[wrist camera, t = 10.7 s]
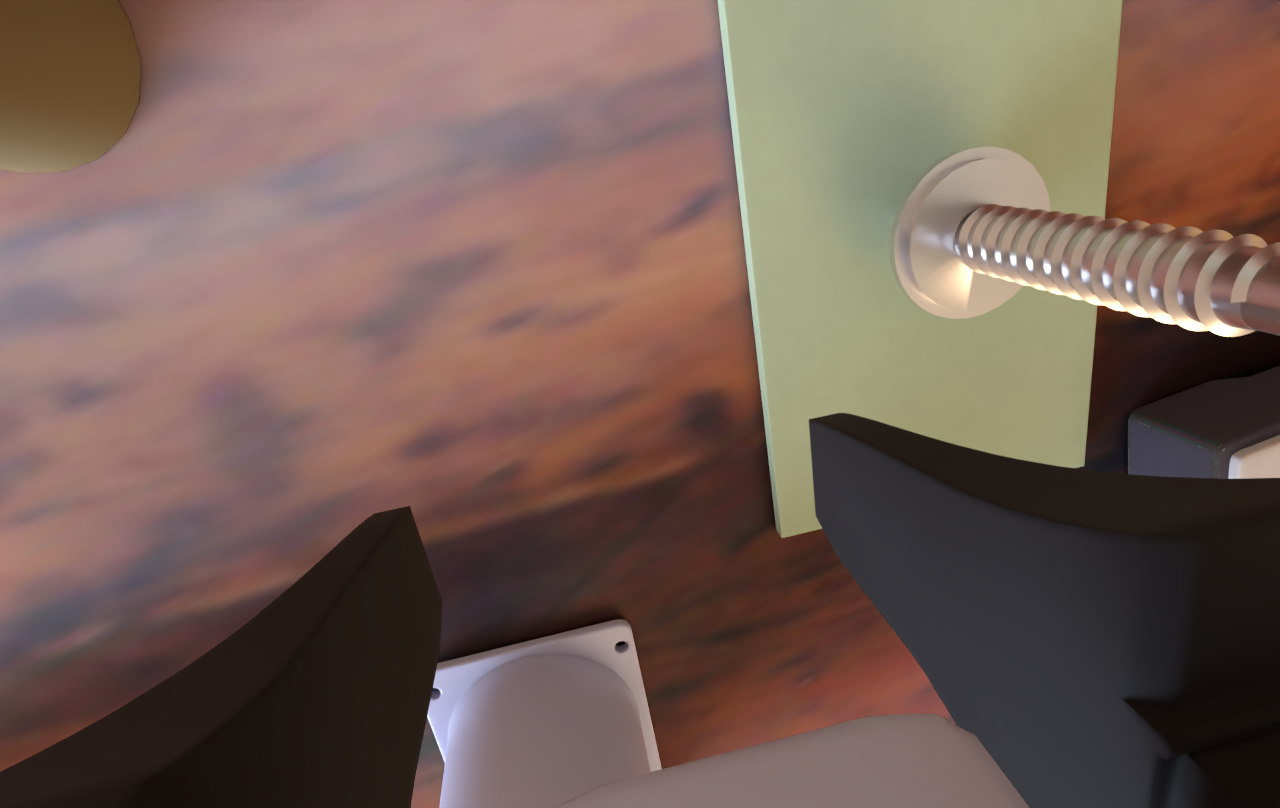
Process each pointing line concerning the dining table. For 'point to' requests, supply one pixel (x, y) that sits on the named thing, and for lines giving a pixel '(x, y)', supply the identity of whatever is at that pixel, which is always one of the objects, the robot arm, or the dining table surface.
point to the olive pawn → (64, 82)
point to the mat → (870, 195)
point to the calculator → (1210, 431)
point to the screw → (1068, 252)
